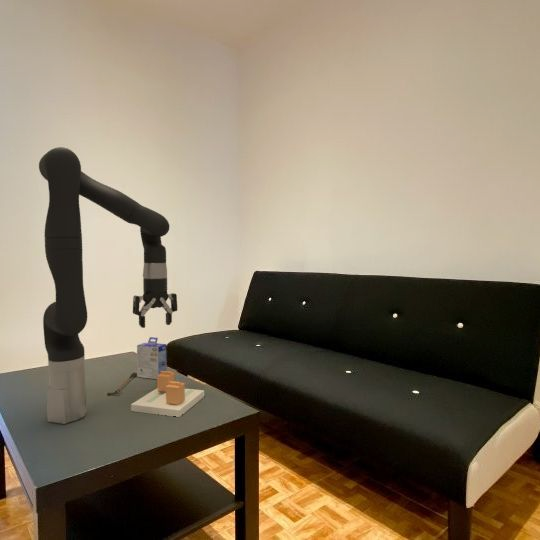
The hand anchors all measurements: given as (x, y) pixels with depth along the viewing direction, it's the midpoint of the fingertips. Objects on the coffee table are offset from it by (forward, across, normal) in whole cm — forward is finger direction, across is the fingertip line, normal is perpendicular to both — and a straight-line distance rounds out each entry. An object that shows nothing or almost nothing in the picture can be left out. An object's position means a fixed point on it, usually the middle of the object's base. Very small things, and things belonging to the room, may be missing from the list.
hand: (155, 326), depth 129 cm
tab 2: (+20, 0, -16) cm, 26 cm away
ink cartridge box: (+23, +6, +18) cm, 29 cm away
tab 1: (+20, +2, -4) cm, 21 cm away
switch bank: (+23, 0, -11) cm, 25 cm away
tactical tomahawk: (+23, -5, +15) cm, 28 cm away
